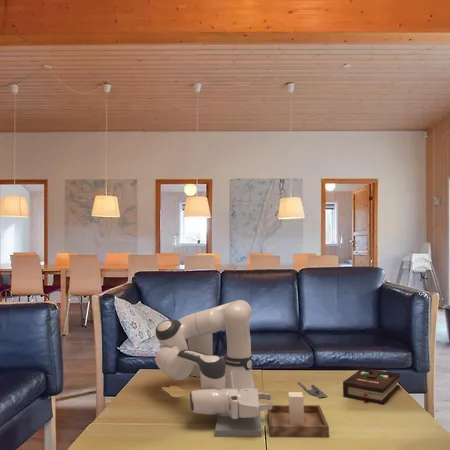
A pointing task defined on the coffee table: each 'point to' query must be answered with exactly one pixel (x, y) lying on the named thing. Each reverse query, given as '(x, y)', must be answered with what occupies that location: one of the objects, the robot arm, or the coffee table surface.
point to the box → (312, 425)
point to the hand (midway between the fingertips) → (271, 401)
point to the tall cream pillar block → (296, 408)
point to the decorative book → (371, 385)
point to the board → (238, 426)
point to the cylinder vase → (200, 348)
